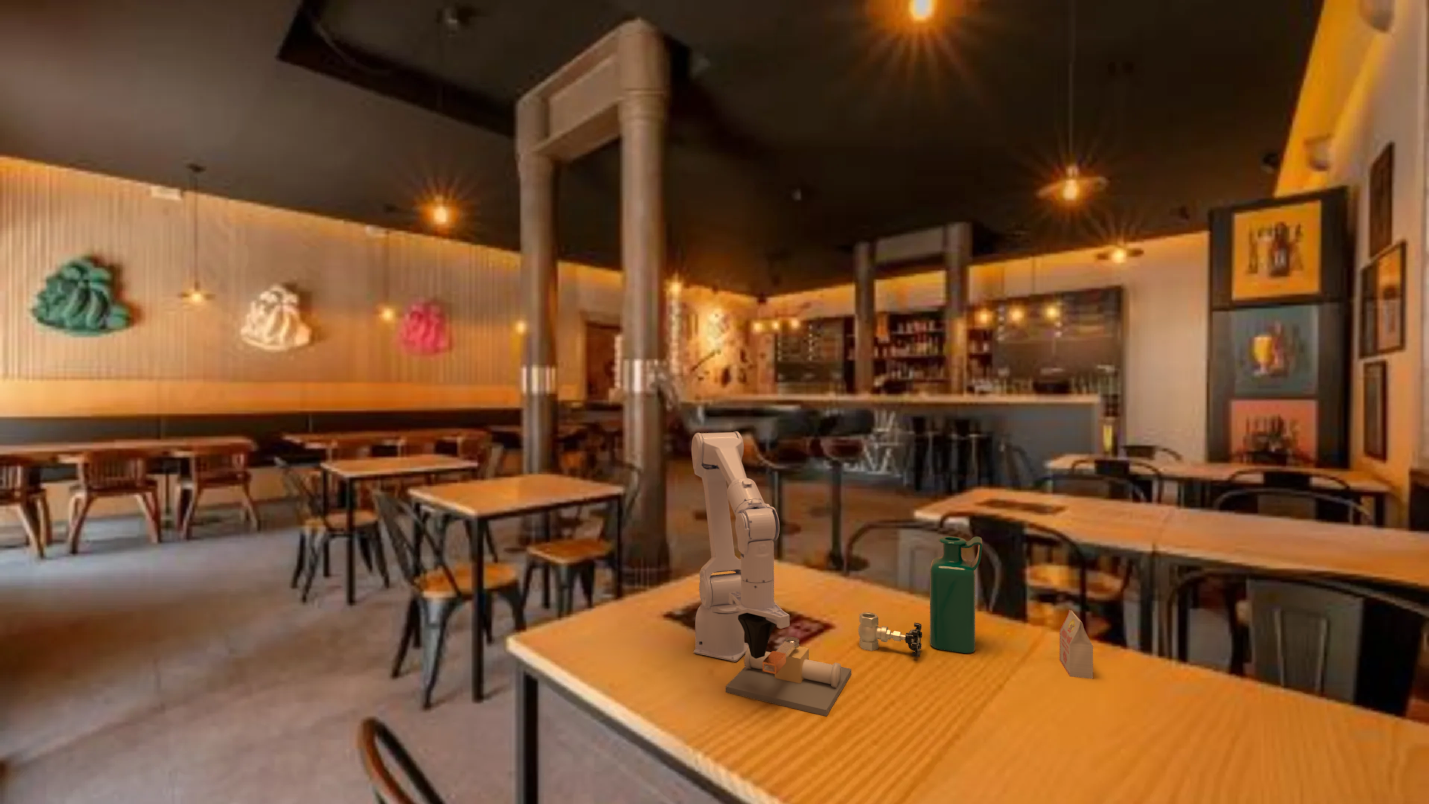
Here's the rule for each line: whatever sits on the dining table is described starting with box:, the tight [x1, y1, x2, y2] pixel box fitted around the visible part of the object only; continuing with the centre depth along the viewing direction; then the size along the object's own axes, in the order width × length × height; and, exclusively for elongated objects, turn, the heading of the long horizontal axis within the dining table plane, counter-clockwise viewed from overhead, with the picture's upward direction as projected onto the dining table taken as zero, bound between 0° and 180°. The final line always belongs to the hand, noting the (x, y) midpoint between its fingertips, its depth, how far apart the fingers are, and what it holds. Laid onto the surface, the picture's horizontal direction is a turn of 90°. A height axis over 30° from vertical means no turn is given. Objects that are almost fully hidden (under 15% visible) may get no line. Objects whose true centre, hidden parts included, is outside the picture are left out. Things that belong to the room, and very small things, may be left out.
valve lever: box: [763, 636, 800, 674], centre depth 106 cm, size 12×3×2 cm, turn 153°
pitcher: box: [929, 535, 983, 654], centre depth 125 cm, size 10×8×22 cm
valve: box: [857, 611, 923, 658], centre depth 123 cm, size 7×7×12 cm
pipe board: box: [725, 645, 852, 717], centre depth 109 cm, size 18×16×5 cm
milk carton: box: [1059, 609, 1094, 680], centre depth 114 cm, size 4×7×10 cm, turn 165°
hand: (758, 656), depth 106 cm, fingers closed
